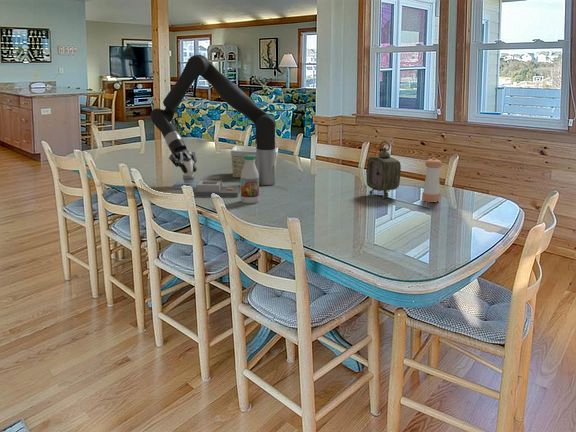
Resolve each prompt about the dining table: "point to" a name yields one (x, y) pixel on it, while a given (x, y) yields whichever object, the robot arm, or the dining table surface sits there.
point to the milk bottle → (249, 181)
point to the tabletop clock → (383, 172)
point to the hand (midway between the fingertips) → (190, 171)
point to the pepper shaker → (432, 180)
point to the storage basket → (238, 158)
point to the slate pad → (180, 183)
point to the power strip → (215, 189)
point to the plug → (188, 171)
